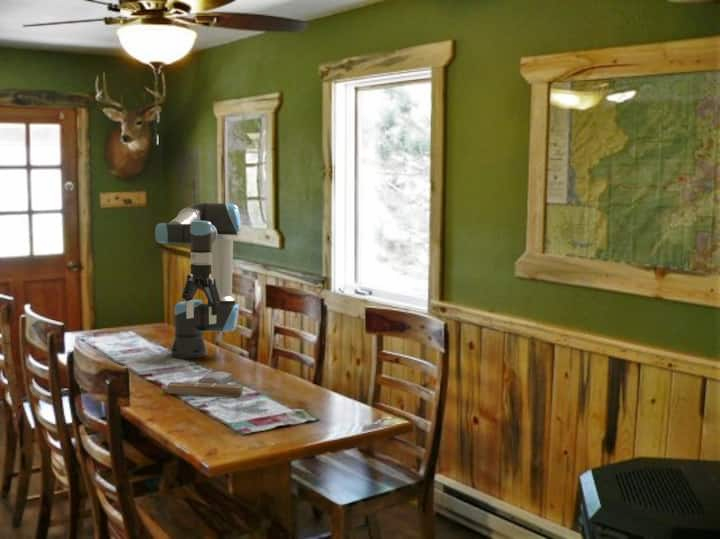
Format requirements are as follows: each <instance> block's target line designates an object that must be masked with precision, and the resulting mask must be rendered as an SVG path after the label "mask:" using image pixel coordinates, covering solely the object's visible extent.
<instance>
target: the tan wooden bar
mask: <svg viewBox="0 0 720 539" xmlns="http://www.w3.org/2000/svg"><path fill="white" fill-rule="evenodd" d="M166 388H167V394H169V395H171V394H172V395H174V394H175V395H198V396H199V395H204V396H228V397H231V396H232V397H233V396H234V397H241V396H242V394H243V393H244V391H243V390H244V389H243V384H237V383H236V384H235V383H234V384H233V383H227V384H216V383H214V384H209V383H198V382H175V381H172V382H171V381H170V382H169V383H168V384H167V385H166Z"/></svg>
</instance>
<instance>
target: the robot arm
mask: <svg viewBox="0 0 720 539" xmlns="http://www.w3.org/2000/svg"><path fill="white" fill-rule="evenodd" d="M241 228H242V222H241V215H240V210H239V207H238V205H236V204H235V203H234V204H233V203H225V202H224V203H220V202H219V203H218V202H217V203H216V202H213V203H212V202H211V203H210V202H200V203H195V204H192V205H191V204H190V205H189V206H186V207H184V208H182V209H181V210H180V211H179V212H178V214H177V216H176V217H175V218H174V219H171V221H170V222H163V223H162V222H161V223H158V224H156V226H155V232H154V234H155V235H154V236H155V241H156V242H157V243H158V244H165V245H167V244H172V245H173V244H174V245H175V244H179V245H180V244H181V245H190V263H191V264H190V265H189V266H190V274H187V275H186V282H185V285H184V288H183V291H182V295H181V299H184V300H183V301H179V302H177V303H176V304H175V305H174V313H173V315H174V339H173V341H172V344H171V348H170V357H172V358H176V359H182V360H183V359H185V360H189V359H190V360H191V359H192V360H193V359H199V358H203V357H205V356H207V355H208V348H207V345H206V342H205V339H204V336H203V334H204V333H203V332H223V333H225V332H234V330H236V327H237V325H238V319H239V315H240V314H239V313H240V305H239V304H237V303H236V299H235V298H234V296H233V269H234V268H233V258H234V255H233V254H234V239H235V238H236V237H237V236H238V233H239V232H240V231H241ZM210 275H211V278H210ZM198 290H201V291H203V292H204V294H205V297H206V299H207V303H204V301H203V300H202V299H194V296H195V295H196V293H197V291H198Z"/></svg>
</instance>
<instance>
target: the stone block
mask: <svg viewBox="0 0 720 539" xmlns="http://www.w3.org/2000/svg"><path fill="white" fill-rule="evenodd" d="M232 379H233V378H232V373H231V372H226V371H213V372H208V373H206V374H205V375H203V376H202V377H200V378H199V379H198V382H197V383H209V384H214V383H216V384H230V382H231V381H232Z"/></svg>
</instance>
